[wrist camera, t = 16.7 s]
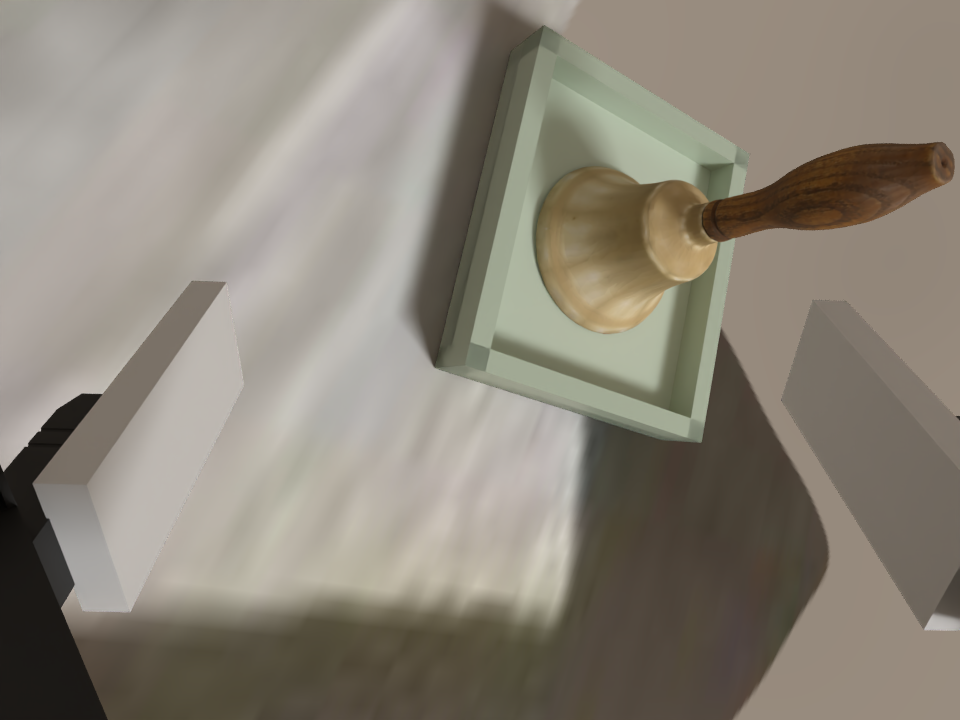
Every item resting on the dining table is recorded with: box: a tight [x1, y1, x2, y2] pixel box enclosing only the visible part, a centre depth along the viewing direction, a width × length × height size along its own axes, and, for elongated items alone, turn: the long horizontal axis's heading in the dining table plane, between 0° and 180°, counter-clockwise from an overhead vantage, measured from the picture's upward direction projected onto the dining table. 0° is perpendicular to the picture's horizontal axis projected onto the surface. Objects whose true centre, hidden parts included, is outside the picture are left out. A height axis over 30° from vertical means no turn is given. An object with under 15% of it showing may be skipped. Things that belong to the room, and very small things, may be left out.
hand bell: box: [536, 142, 955, 334], centre depth 28 cm, size 8×8×16 cm
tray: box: [435, 25, 749, 443], centre depth 35 cm, size 16×14×3 cm
